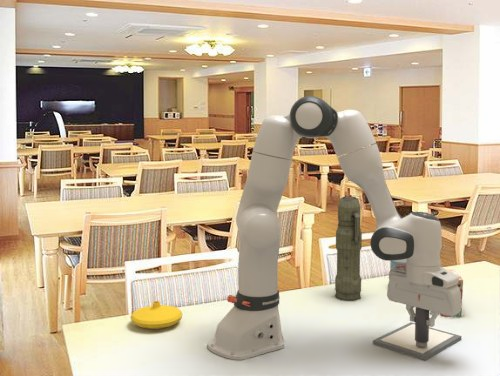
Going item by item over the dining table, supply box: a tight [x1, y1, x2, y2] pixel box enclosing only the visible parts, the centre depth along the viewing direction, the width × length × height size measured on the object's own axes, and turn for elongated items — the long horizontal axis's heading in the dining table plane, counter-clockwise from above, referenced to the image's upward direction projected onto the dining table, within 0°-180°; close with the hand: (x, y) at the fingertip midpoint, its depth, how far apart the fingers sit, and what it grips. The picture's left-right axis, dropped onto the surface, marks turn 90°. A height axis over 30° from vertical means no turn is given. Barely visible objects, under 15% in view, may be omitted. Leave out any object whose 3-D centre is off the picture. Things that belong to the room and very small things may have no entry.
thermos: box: [334, 196, 363, 302], centre depth 205 cm, size 9×12×35 cm
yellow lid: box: [130, 300, 183, 330], centre depth 183 cm, size 16×16×7 cm
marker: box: [414, 295, 430, 348], centre depth 160 cm, size 4×4×14 cm
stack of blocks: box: [439, 268, 464, 318], centre depth 197 cm, size 21×6×12 cm, turn 172°
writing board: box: [372, 321, 462, 361], centre depth 167 cm, size 20×16×1 cm
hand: (421, 323), depth 160 cm, fingers closed on marker, 4 cm apart
